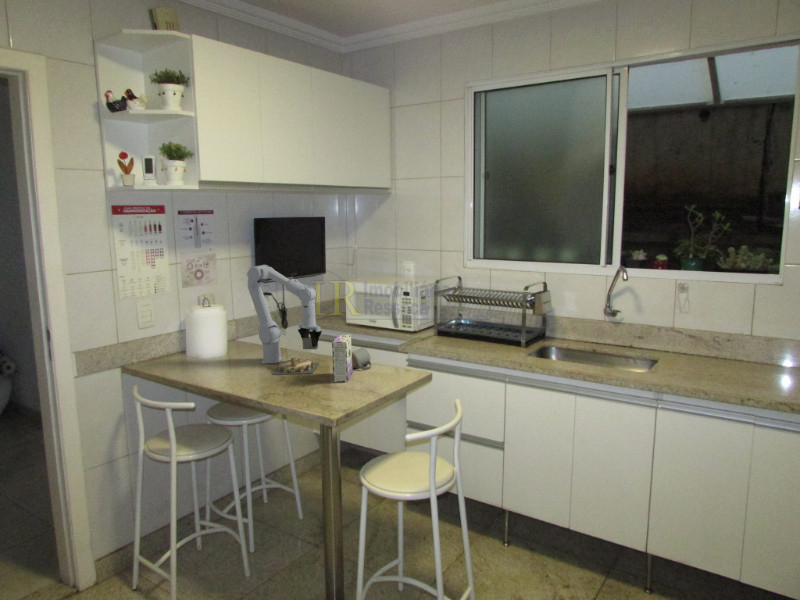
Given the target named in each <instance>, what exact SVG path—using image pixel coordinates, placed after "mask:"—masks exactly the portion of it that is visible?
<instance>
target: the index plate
mask: <svg viewBox="0 0 800 600" xmlns="http://www.w3.org/2000/svg"><path fill="white" fill-rule="evenodd" d="M319 365H320V362H314V368H311V370H305V371H303V372H300V371H299V372H294V373H291V372H283V371H279V366H277V367H276V369H275V370H274V371H273V372H272V373H271V375H272V376H280V375H283V376H284V375H286V376H287V375H312V374H314V373H315V371H316V370H317V367H318V366H319Z"/></svg>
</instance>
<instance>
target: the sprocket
mask: <svg viewBox="0 0 800 600" xmlns="http://www.w3.org/2000/svg"><path fill="white" fill-rule="evenodd" d="M314 363H315V362H314V361H313V360H312V359H311V360H309V359H308V358H305V359H302V358H296V357H291V358H290V359H289V360H282V361H281V363H280V362H279V363H277V364H278V366H279V371H283V372H291V373H294V372H299V371H300V372H303V371H305V370H311V368H314ZM278 366H277V367H278Z"/></svg>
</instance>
